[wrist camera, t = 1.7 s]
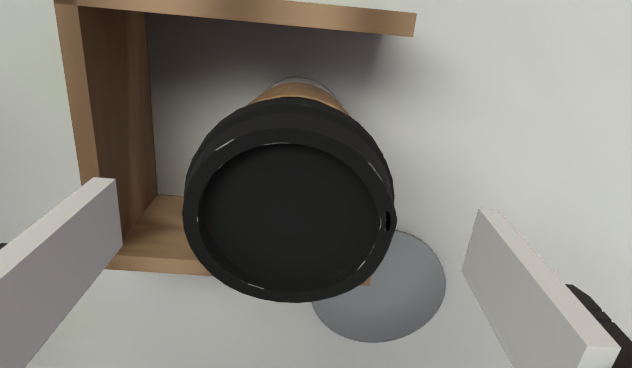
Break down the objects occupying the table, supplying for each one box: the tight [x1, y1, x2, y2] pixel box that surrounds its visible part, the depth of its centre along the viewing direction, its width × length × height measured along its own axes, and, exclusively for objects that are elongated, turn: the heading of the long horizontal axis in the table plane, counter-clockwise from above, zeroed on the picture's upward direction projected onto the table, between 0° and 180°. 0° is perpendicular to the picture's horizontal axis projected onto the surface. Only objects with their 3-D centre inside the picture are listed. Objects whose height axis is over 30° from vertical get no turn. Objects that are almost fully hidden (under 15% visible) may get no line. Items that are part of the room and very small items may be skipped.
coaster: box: [312, 230, 445, 342], centre depth 34 cm, size 11×11×1 cm
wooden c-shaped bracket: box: [54, 0, 417, 286], centre depth 25 cm, size 16×15×8 cm
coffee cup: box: [182, 78, 397, 303], centre depth 22 cm, size 8×8×15 cm
